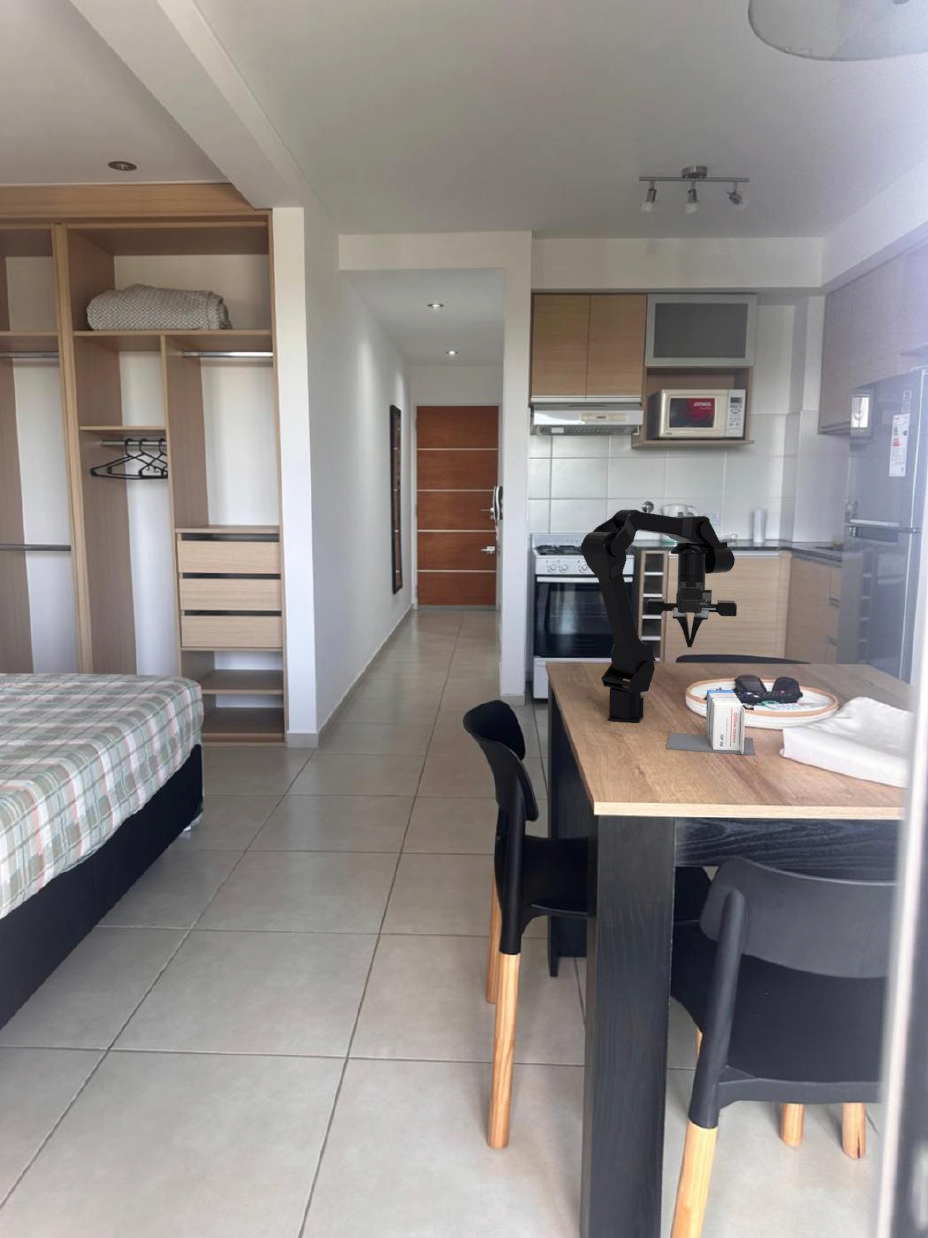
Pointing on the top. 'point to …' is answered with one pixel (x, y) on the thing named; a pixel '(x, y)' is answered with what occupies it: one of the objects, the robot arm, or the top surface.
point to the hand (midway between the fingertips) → (689, 647)
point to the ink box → (725, 720)
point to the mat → (703, 744)
